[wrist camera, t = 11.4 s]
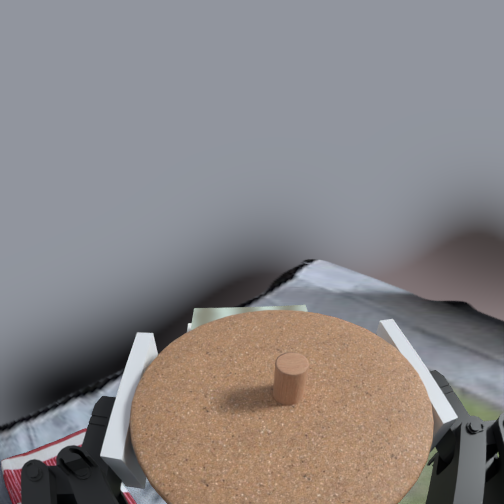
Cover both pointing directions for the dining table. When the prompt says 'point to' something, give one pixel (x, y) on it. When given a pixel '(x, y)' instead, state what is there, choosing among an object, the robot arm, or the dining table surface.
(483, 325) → the dining table surface
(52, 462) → the dish towel
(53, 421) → the dining table surface
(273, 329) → the lidded jar
